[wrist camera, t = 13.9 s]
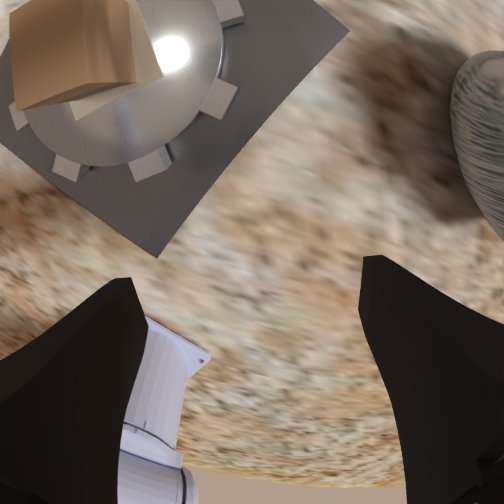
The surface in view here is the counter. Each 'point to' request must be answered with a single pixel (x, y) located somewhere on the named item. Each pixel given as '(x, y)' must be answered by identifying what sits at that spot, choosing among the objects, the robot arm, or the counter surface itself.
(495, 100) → the grey oval stone
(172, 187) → the plate
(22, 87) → the link block
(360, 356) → the counter surface
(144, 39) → the sprocket
